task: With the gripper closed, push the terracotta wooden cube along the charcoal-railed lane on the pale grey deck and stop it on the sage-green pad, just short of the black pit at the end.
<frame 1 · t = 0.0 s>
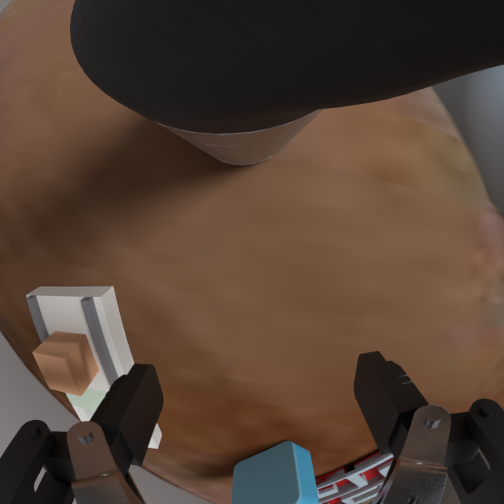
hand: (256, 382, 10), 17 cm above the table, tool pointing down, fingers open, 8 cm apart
blue square slab: (270, 455, 35), on the table
maze game: (363, 474, 39), on the table
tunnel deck: (99, 370, 30), on the table
terracotta cube: (76, 350, 26), point 3 cm above the table, touching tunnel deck
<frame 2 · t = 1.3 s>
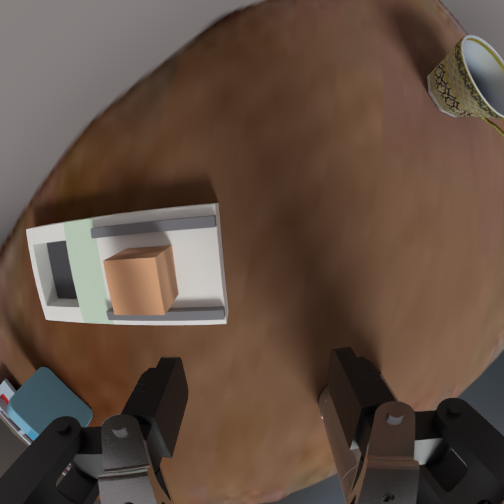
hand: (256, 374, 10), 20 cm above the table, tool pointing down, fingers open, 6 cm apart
blue square slab: (65, 392, 35), on the table
maze game: (53, 439, 39), on the table
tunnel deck: (121, 265, 30), on the table
terracotta cube: (151, 271, 27), point 3 cm above the table, touching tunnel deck
ceramic cup: (450, 103, 25), on the table
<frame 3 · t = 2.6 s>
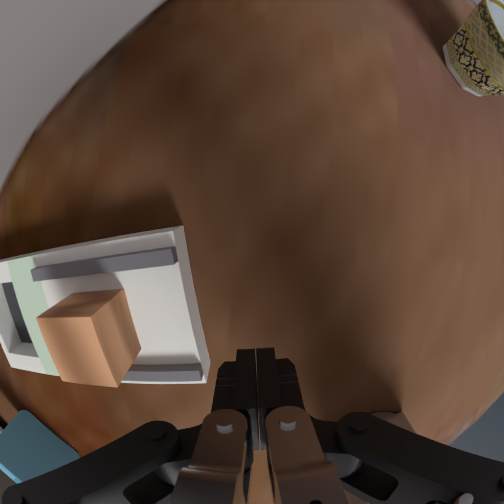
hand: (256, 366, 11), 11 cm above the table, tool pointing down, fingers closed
blue square slab: (50, 434, 27), on the table
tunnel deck: (77, 309, 22), on the table
terracotta cube: (105, 321, 19), point 3 cm above the table, touching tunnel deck
ceramic cup: (471, 79, 18), on the table
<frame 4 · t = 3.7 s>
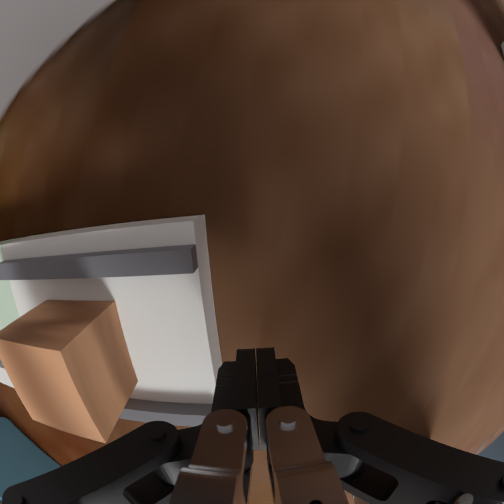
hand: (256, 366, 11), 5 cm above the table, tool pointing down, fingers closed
blue square slab: (31, 445, 21), on the table
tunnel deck: (57, 316, 16), on the table
terracotta cube: (89, 341, 13), point 3 cm above the table, touching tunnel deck
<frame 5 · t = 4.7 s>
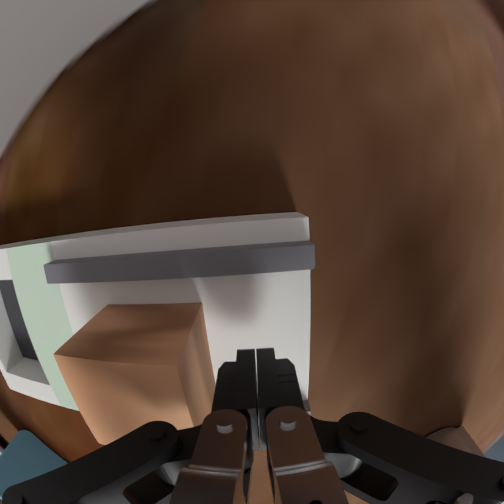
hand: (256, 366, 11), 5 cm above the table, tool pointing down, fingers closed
blue square slab: (55, 457, 21), on the table
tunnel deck: (110, 322, 16), on the table
terracotta cube: (161, 348, 13), point 3 cm above the table, touching gripper, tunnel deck
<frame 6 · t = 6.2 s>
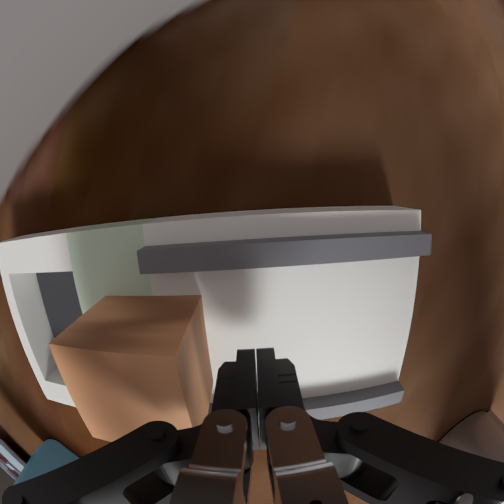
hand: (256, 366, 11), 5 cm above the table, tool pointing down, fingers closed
blue square slab: (84, 466, 21), on the table
maze game: (64, 494, 26), on the table
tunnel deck: (192, 318, 16), on the table
terracotta cube: (158, 341, 13), point 3 cm above the table, touching gripper, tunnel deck
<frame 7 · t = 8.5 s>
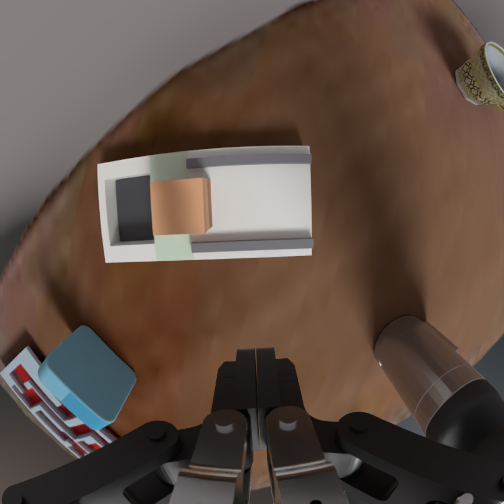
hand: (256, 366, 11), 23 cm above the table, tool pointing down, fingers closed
blue square slab: (105, 355, 37), on the table
maze game: (71, 416, 42), on the table
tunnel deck: (204, 203, 32), on the table
terracotta cube: (188, 204, 29), point 3 cm above the table, touching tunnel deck
ceramic cup: (472, 93, 28), on the table
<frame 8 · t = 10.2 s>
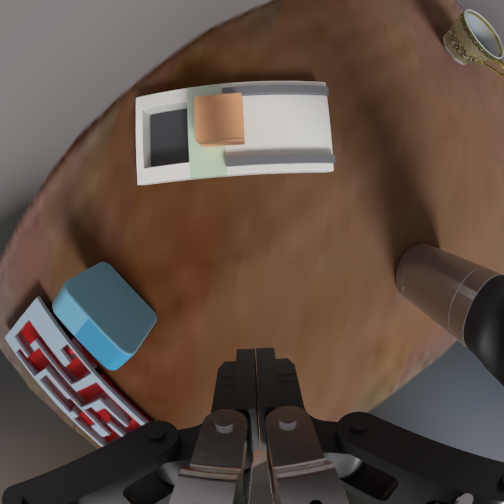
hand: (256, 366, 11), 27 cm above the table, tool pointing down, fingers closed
blue square slab: (124, 296, 39), on the table
maze game: (79, 381, 44), on the table
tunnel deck: (234, 131, 34), on the table
terracotta cube: (222, 126, 31), point 3 cm above the table, touching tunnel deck
ceramic cup: (459, 56, 30), on the table
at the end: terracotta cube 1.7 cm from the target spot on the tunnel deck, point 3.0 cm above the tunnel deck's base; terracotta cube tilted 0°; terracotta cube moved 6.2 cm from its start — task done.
